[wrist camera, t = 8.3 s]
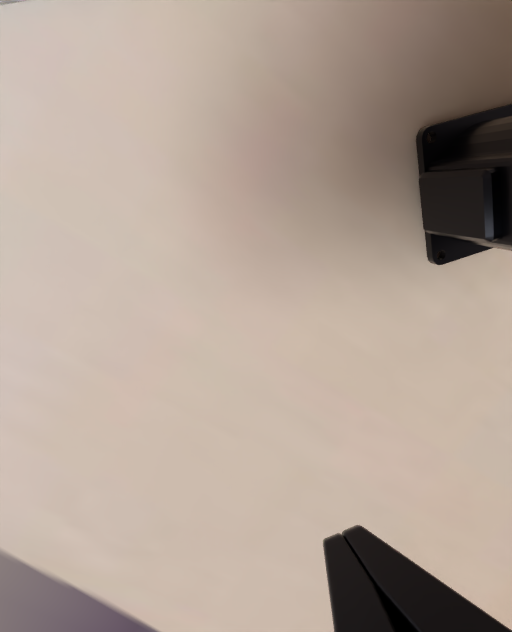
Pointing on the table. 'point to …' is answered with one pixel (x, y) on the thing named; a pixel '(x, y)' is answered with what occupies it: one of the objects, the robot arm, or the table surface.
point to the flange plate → (8, 1)
